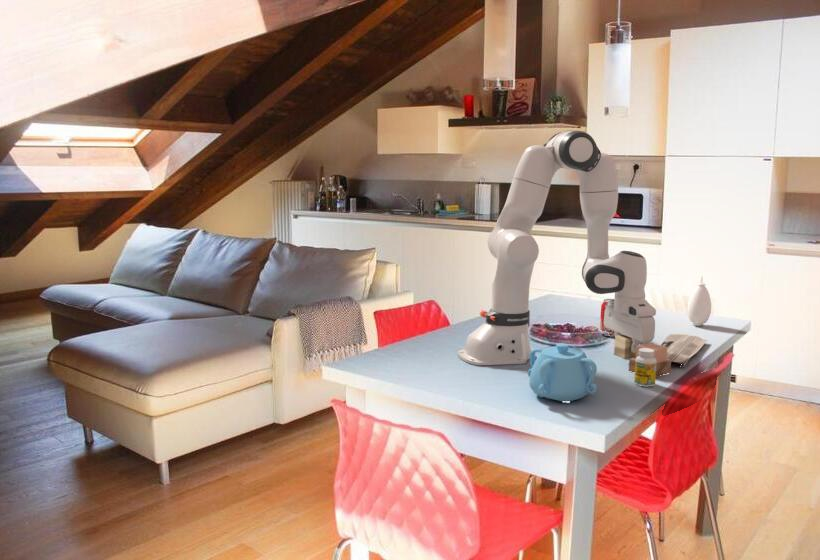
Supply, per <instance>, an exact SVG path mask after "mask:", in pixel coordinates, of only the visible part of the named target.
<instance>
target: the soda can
mask: <svg viewBox="0 0 820 560" xmlns="http://www.w3.org/2000/svg"><path fill="white" fill-rule="evenodd" d="M611 299H613V300H614V299H615V298H605V299H603V300H602V301H603V302H602V303H601V306H600V317H599V320H600V321H599V331H600V330H602V331H606V332H608V333H609V335H610V337H609V338H615V335H614V331H613V330H610V329H608V328H606V327H605V326H604V316H605V310H606V307H607V304H608V302H609V301H610V300H611Z"/></svg>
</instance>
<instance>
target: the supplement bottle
mask: <svg viewBox="0 0 820 560" xmlns="http://www.w3.org/2000/svg"><path fill="white" fill-rule="evenodd" d="M638 354H639V356H638V357H637V358H636V360H635V373H634V380H633V383H634V384H635V385H636V384H637V385H641V386H653V387H655V385H656V359H655V358H654V357H653V356H654V350H652V349H648V348H641V349H639V352H638ZM637 385H636V386H637ZM641 386H640V387H641Z"/></svg>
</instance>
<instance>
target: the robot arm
mask: <svg viewBox="0 0 820 560" xmlns="http://www.w3.org/2000/svg"><path fill="white" fill-rule="evenodd" d="M559 169H565V170H574V171H575V172H576V174H577V177H578V179H579V180H578V181H579V203H580V207H581V211H582V217H583V219H584V222H585V224H586V230H587V232H586V233H587V235H586V237H587V241H586V242H587V254H586V258H585V261H584V263H583V265H582V268H581V277H582V279H583V281H584V283H585V286H586V287H587V288H588V289H589V291H591V293H595V294H598V295H605V294H606V295H607V294H613V293H614V298H610V299H611V300H610V301H609V302H608V304H607V307H606V310H605V316H604V326H605V327H606V328H608V329H610V330H613V331H614V335H625V336H628V337H631V338H632V342H633V343H632V346H629V348H630V349H629V351H630V352H633V353H634V352H636V346H638V345H641V343H652V341H653V340H654V339H655V335H656V334H655V332H656V320H655V318H654V317H655V316H656V315H657V310H656V308H655V307H654V306H653V305H652V304H650V303H649V302H648V300H646V293H645V287H646V284H647V280H648V279H647V277H648V276H647V274H648V273H647V272H648V271H647V270H648V268H647V260H646V258H645V257H644V255H642V254H641V253H638V252H635V251H630V250H620V252H618V253H616V254H615V255H613V256H611V257H610V254H609V227H610V225H611V221H612V220H613V218H615V217H614V216H615V215H616V213H617V209H618V203H619V180H618V174H617V172H618V171H617V167H616V163H615V160H614V157H612V155H610V154H608V153H605V152H601V150H600V149H599V147H598V146H597V143H596V141H595V139H594V138H593V137H592V135H590V134H589V133H588V132H585V131H582V130H572V129H571V130H565V131H560V132H558V133H555V134H554V135H552V136H551V137H550V138H549V139H548V141H546V142H545V144H543V145H540V144H535V145H534V144H533V145H531V146H528V147H527V148H525V150H524V151H523V153H522V156H521V157H520V159H519V162H518V164H517V166H516V169H515V172H514V174H513V176H512V177H513V178H512V181H511V184H510V187H509V191H508V194H507V198H506V201H505V203H504V206H503V208H502V210H501V212H500V214H499V215H498V218H497V221H496V222H495V225H494V227H493V229H492V230H491V232H490V233H489V235H488V238H487V246H488V250H489V252H490V254H491V255H492V256H493V257H494V259H496V260H497V266H496V272H495V276H494V280H493V281H492V284H491V308H490V309H489V311H488V312H487V311H486V310H484V309H482V310H480V311H479V315H480V317H482V318H483V319H484V318H485V322H484V323H482V324H481V325H480V326H478V327H477V328H476V329H475V330H473V332H471V333H470V334H469V335H468V336H467V338H466V343H465V347H464V348H463V349H460V350H458V352H457V356H458V357H459V358H460V359H461V360H462V361H463V362H466V363H468V364H470V365H473V366H495V365H496V366H497V365H518V364H519V365H520V364H521V365H522V364H526V363H527V361H529V360H530V352H531V351H532V350H531V343H530V335H529V334H530V333H529V327H530V321H531V319H530V317H531V316H530V315H531V311H530V309H529V305H530V303H529V302H530V301H529V300H530V285H531V279H532V276H533V270H534V266H535V263H536V261H537V259H538V257H539V254H540V249H539V244H538V243H537V241H536V239H535V238H534V237H533V235H532V234H531V231H532V229H533V228H534V226H535V224H536V222H537V220H538V219H539V218H540V217H541V215H542V214H543V212H544V207H545V205H546V200H547V198H548V195H549V192H550V188H551V185H552V180H553V178H554V176H555V174H556V173H557V171H559ZM613 299H614V300H613Z"/></svg>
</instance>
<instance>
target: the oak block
mask: <svg viewBox="0 0 820 560" xmlns="http://www.w3.org/2000/svg"><path fill="white" fill-rule="evenodd" d="M632 343H633V342H632V338H631V337H628V336H625V335H623V334H622V335H615V337H614V351H613V355H614V356H617V357H620V358H621V359H627V360H628V359H631V358H635V357H636V352H634V353H633V352H630V351H629V349H630V348H629V346H632Z"/></svg>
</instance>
